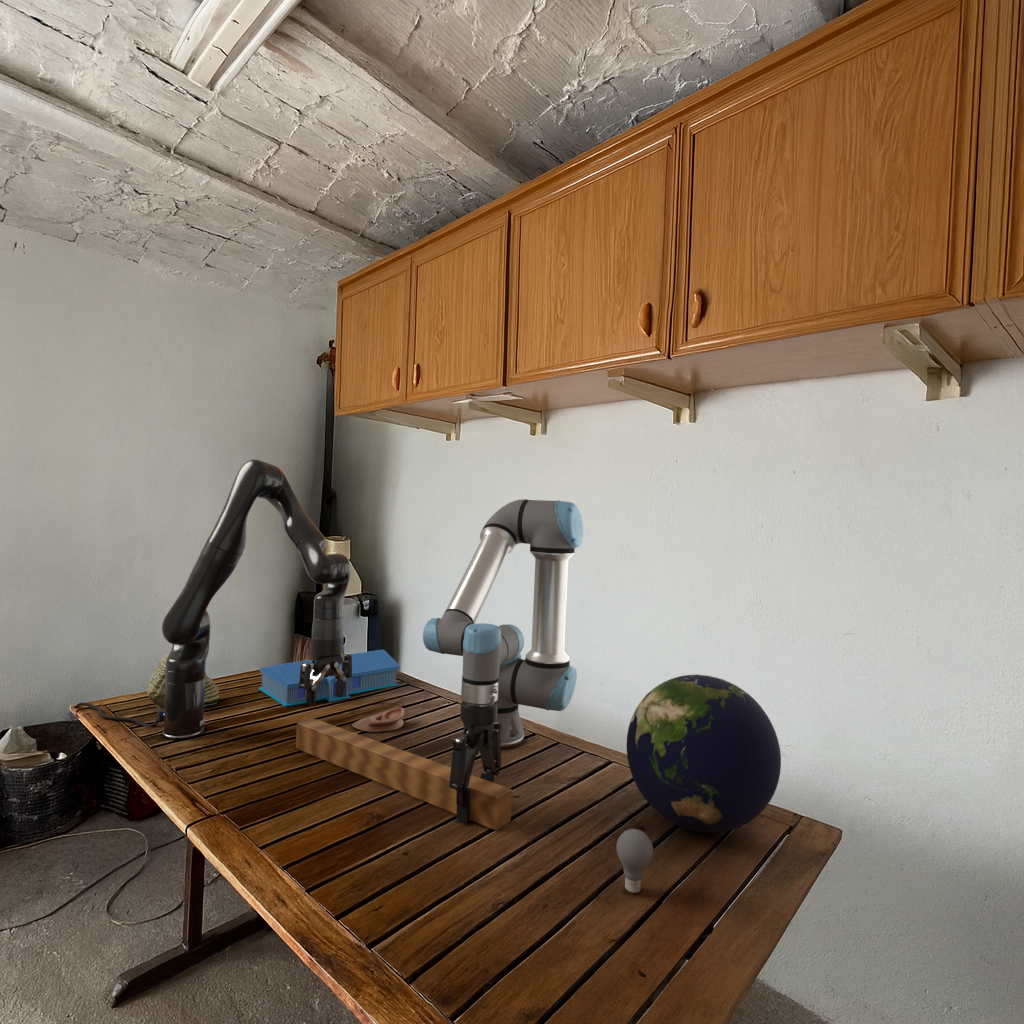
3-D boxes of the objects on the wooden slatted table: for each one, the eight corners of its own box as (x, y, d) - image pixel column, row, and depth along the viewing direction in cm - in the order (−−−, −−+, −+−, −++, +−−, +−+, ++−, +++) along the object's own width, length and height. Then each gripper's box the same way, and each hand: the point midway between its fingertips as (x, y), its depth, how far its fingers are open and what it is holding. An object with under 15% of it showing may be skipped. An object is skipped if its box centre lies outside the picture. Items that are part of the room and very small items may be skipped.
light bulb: (610, 879, 108) (613, 822, 108) (644, 879, 109) (647, 822, 109) (619, 902, 102) (622, 840, 102) (655, 901, 103) (658, 840, 103)
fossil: (144, 707, 182) (145, 655, 182) (212, 696, 194) (213, 647, 194) (151, 716, 175) (153, 662, 175) (221, 703, 188) (223, 653, 188)
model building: (289, 709, 186) (291, 675, 185) (258, 688, 204) (259, 657, 204) (403, 687, 212) (405, 657, 212) (366, 670, 230) (368, 643, 230)
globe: (608, 841, 121) (615, 684, 120) (638, 779, 148) (644, 652, 148) (777, 883, 110) (786, 711, 109) (776, 808, 137) (783, 670, 137)
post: (295, 748, 158) (296, 722, 158) (311, 742, 162) (312, 717, 162) (496, 830, 123) (498, 798, 123) (510, 821, 127) (512, 789, 127)
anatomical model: (347, 714, 172) (365, 702, 183) (346, 729, 172) (365, 715, 183) (393, 720, 169) (409, 707, 181) (392, 735, 169) (408, 720, 181)
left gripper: (313, 642, 148) (311, 711, 148) (360, 633, 159) (358, 697, 160) (293, 637, 152) (291, 704, 152) (340, 628, 164) (338, 691, 164)
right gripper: (463, 718, 119) (457, 839, 119) (521, 694, 135) (517, 800, 135) (432, 709, 123) (428, 826, 123) (493, 686, 139) (488, 790, 140)
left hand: (325, 700), depth 156 cm, fingers open, 8 cm apart
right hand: (474, 812), depth 129 cm, fingers open, 7 cm apart
